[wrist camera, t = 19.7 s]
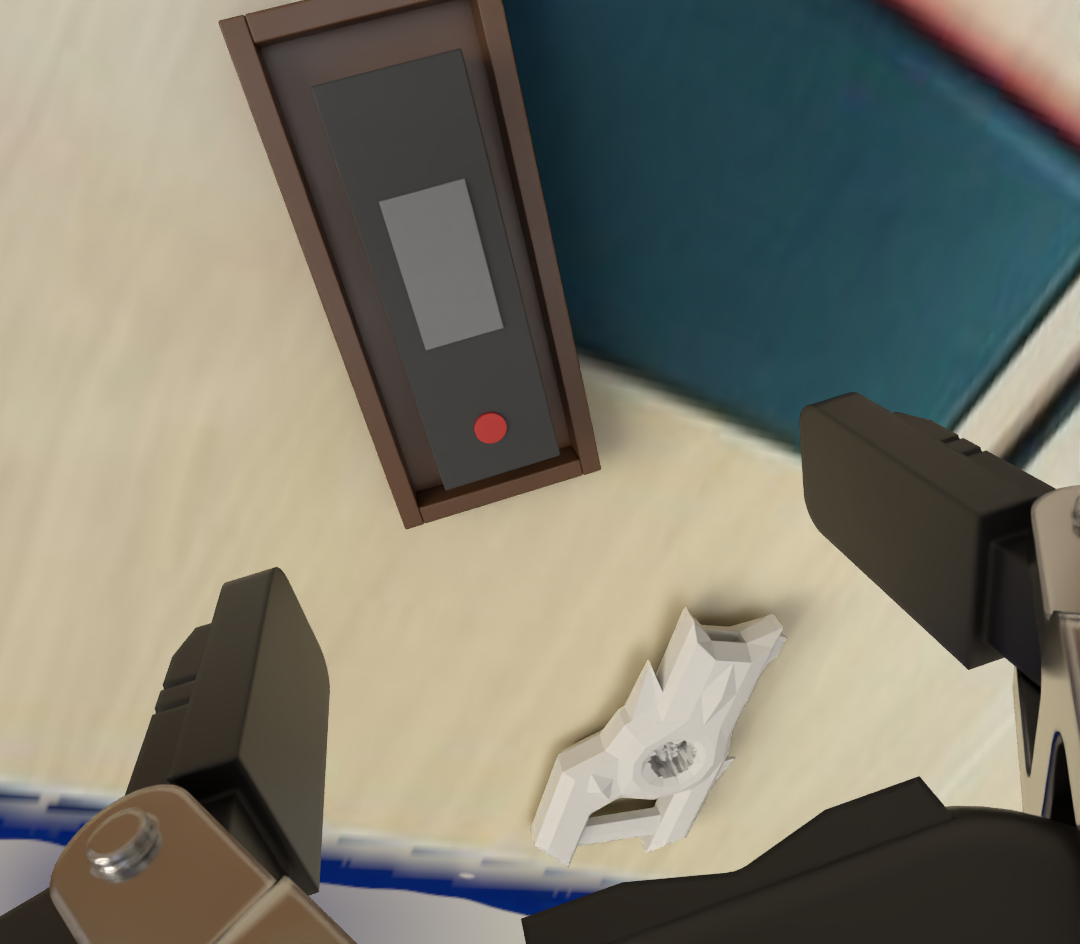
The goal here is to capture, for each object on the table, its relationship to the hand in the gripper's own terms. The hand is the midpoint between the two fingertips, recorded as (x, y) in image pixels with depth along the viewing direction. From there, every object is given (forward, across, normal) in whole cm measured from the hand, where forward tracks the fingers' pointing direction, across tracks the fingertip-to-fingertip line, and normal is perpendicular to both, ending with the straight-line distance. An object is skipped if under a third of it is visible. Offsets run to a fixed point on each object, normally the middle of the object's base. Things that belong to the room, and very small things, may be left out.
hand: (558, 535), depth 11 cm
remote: (+20, 0, 0) cm, 20 cm away
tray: (+20, 0, 0) cm, 20 cm away
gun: (+20, -4, +27) cm, 34 cm away
